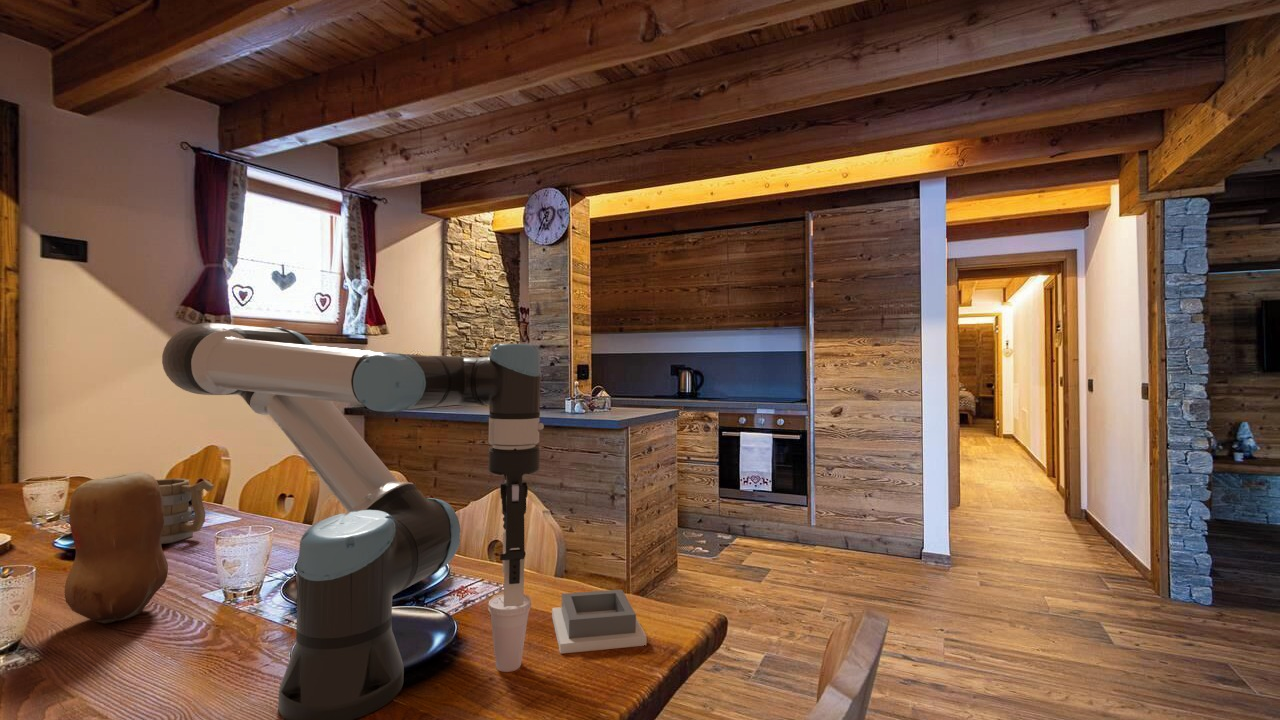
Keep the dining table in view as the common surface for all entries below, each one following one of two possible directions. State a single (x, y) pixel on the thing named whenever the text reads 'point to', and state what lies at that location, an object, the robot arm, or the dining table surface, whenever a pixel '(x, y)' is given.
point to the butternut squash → (116, 547)
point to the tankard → (181, 508)
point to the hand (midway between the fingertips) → (512, 587)
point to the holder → (596, 622)
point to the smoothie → (508, 632)
